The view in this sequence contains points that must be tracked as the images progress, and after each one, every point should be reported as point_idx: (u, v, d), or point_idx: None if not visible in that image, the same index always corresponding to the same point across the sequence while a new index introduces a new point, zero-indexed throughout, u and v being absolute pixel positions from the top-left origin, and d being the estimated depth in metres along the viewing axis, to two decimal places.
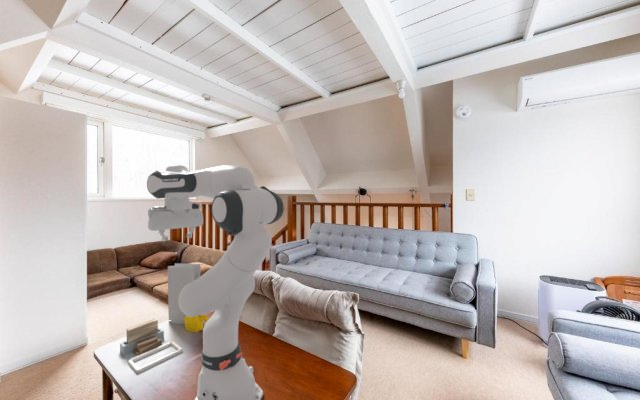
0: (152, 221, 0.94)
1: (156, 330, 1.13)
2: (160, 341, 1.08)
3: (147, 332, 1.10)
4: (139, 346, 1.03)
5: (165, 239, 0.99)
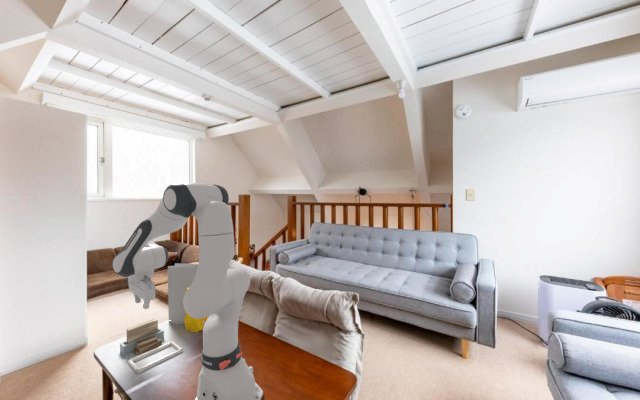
0: None
1: (156, 330, 1.13)
2: (160, 341, 1.08)
3: (147, 332, 1.10)
4: (139, 346, 1.03)
5: None
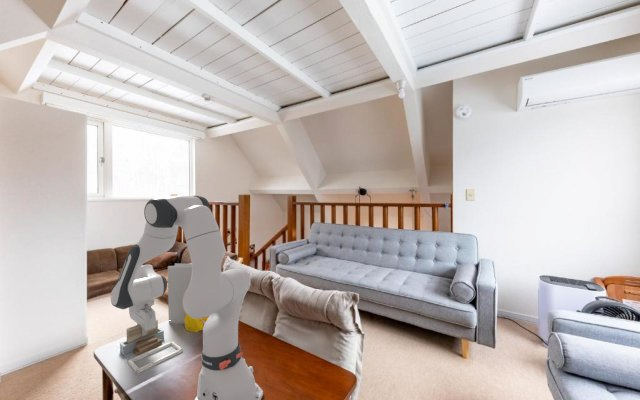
0: (155, 319, 1.05)
1: (156, 330, 1.13)
2: (160, 341, 1.08)
3: (147, 332, 1.10)
4: (139, 346, 1.03)
5: None
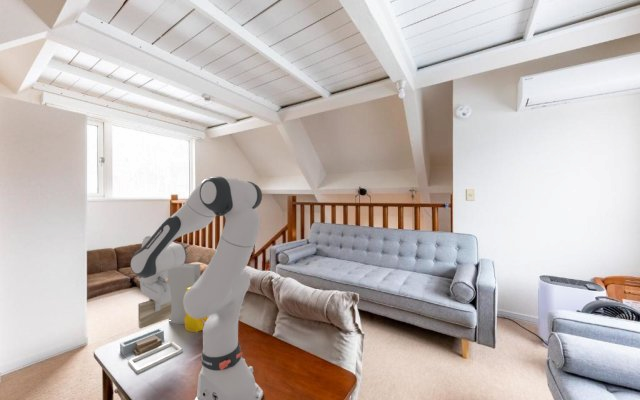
0: (170, 293, 0.96)
1: (169, 307, 1.04)
2: (160, 341, 1.08)
3: (160, 309, 1.01)
4: (139, 346, 1.03)
5: None
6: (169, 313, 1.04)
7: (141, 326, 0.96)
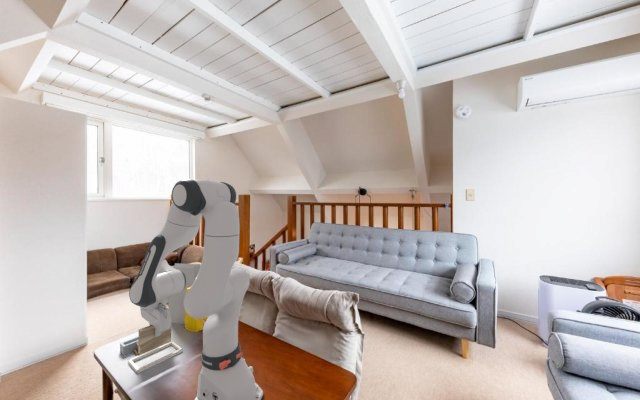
0: (170, 319, 0.96)
1: (169, 331, 1.04)
2: None
3: None
4: None
5: None
6: (169, 337, 1.04)
7: (141, 352, 0.96)
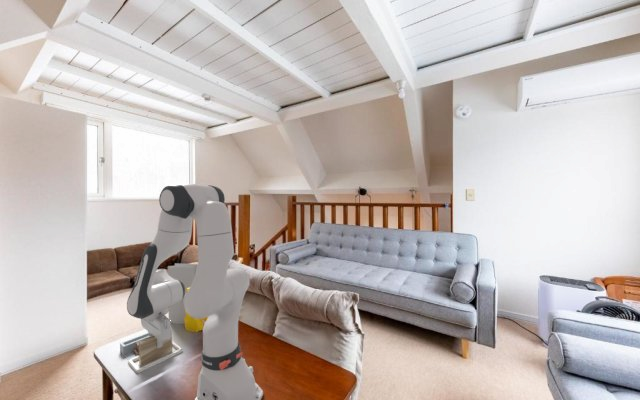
0: None
1: (170, 342, 1.04)
2: None
3: None
4: None
5: None
6: (170, 348, 1.04)
7: (142, 364, 0.96)
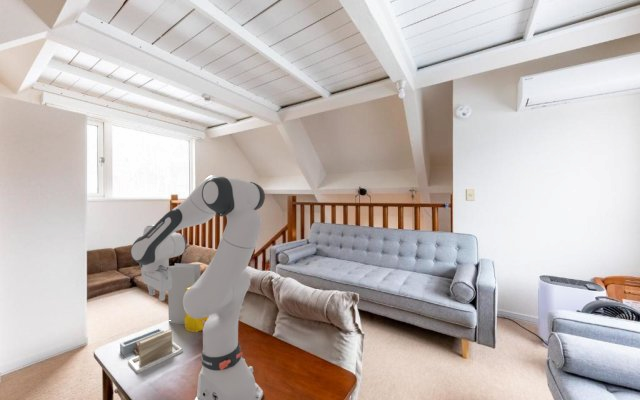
0: (171, 281, 0.98)
1: (170, 342, 1.04)
2: None
3: (161, 344, 1.01)
4: None
5: None
6: (170, 348, 1.04)
7: (142, 364, 0.96)
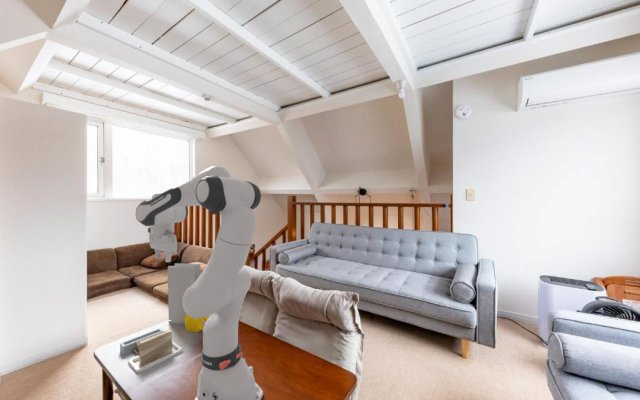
0: None
1: (170, 342, 1.04)
2: None
3: (161, 344, 1.01)
4: None
5: None
6: (170, 348, 1.04)
7: (142, 364, 0.96)
